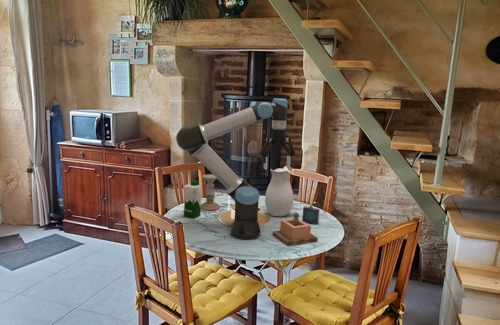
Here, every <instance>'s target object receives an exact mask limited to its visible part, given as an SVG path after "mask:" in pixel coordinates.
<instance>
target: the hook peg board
mask: <svg viewBox="0 0 500 325" xmlns="http://www.w3.org/2000/svg"><path fill="white" fill-rule="evenodd" d="M299 217H300V213H299V212H293V218H292V219H293V225H294V226H298V219H300V218H299ZM272 236H273V237H274V238H275V239H277V240H278V241H280V242H281V243H282V244H284V245H285V246H287V247H291V246H297V245H298V246H299V245H305V244H311V243H317V242H318V240H319V237H317V236H316V235H314V234H312V233H311V232H310V238H303V239H296V240H292V239H290V238H289V237H287V236H286V235H284V234H283V233H281V232H280V230H275V231H272Z"/></svg>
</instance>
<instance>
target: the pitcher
mask: <svg viewBox="0 0 500 325" xmlns="http://www.w3.org/2000/svg"><path fill="white" fill-rule="evenodd" d="M269 171H270V172H271V179H270V182H269V184H268V186H267V189H266V191H265V194H264V196H265V197H264V203H265V207H266V208H265V209H266V211H267V212H268V213H269V215H271V216H273V217H274V216H275V217H286V216H288V214H289V213H290V211H291V209H292V207H293V204H294V193H293V189H292V186H291V181H290V174H291V168H290V169H289V168H286V165H285V166H284V167H283V168H276V169H274V170H273V169H272V168H270V170H269Z"/></svg>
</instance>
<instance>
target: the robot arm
mask: <svg viewBox="0 0 500 325" xmlns="http://www.w3.org/2000/svg"><path fill="white" fill-rule="evenodd" d="M287 115H288V100H287V99H286V98H273V99H272V101H250V102H249V107H247V108H245V109H242V110H240V111H237V112H234V113H232V114H229V115H226V116H224V117H221V118H219V119H216V120H214V121H211V122H208V123H206V124H203V125H202V124H197V125H193V124H185V125H184V126H182V127H181V128H180V129H179V131H178V132H177V133H176V136H175V141H176V144H177V145H178V147H179V148H180V149H181V150H183V151H186V152H187V153H188V154H189V155H190V156H195V157H196V158H197V159H198V160H199V161H200V162H201V164H203V166H205V168H207V170H208V171H210V173H211V174H213V175H214V176H215V177H216V178H217V179H216V180H218V181H219V182H220V183H221V184H222V185H223V187H225V189H226V194H227V195H228V196H229V197H230V198H231V199H232V200H233V201H234V219H233V222H232V225H231V227H230V236H231V237H233V238H235V239H238V240H246V241H247V240H256V239H258V238H260V237H261V226H260V223H259V220H258V219H259V200H260V191H259V190H258V189H257V188H255V187H254V186H253V185H251V184H250V183H248V182H247V181H246V180H245V178H244V177H239V176H238V175H237V174H236V173H235V172H234V171H233V169H231V168H230V166H228V165H227V163H226V162H225V161H224V160H223V158H221V157H220V156H219V155H218V154H217V153H216V152H215V151H214V150H213V148H212V147H211V146H210V145H209V141H210V140H212V139H215V138H218V137H221V136H223V135H225V134H226V135H227V133H231V132H233V131H236V130H238V129H241V128H244V127H246V126H249V125H251V124H253V123H257V122H259V121H261V120H265V119H270V118H271V137H270V138H269V137H265V140H264V144H263V146H262V147H261V150H260V152H259V156H261V157H262V159H261V160H262V163H263V169H264V170H268V155H269V153H271V152H272V150H273V149H274V148H275V147H282V148H283V150H284V151H285V152H286V154H287V156H286V165H285V166H286V168H289V169H290V170H291V163H292V162H293V159H292V158H293V157H294V156H295V155H296V151H295V149H294V147H293V143H292V138H291V137H286V135H287V119H288V118H287V117H288V116H287ZM270 142H271V143H270ZM286 144H287V145H288V146H287V145H286Z"/></svg>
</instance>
